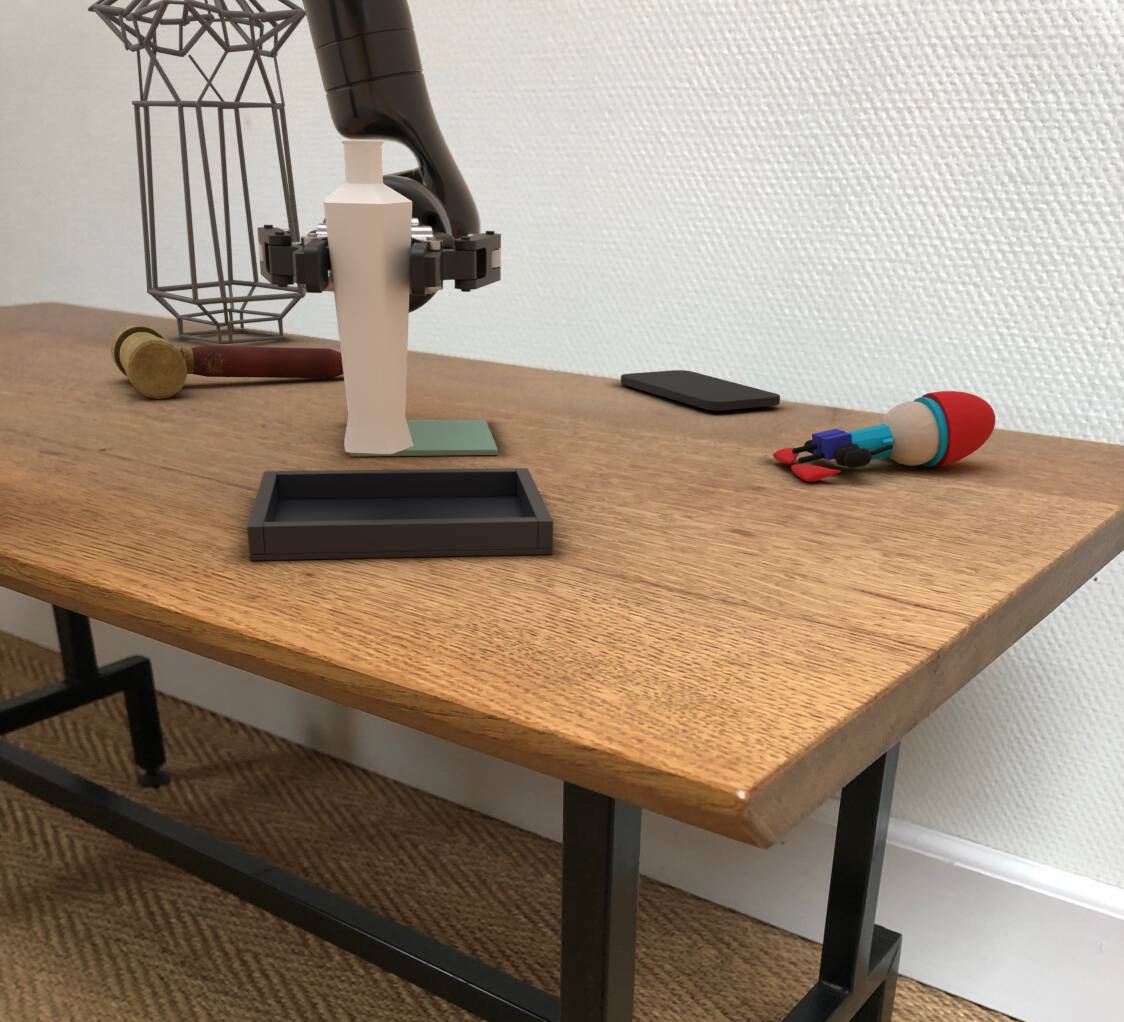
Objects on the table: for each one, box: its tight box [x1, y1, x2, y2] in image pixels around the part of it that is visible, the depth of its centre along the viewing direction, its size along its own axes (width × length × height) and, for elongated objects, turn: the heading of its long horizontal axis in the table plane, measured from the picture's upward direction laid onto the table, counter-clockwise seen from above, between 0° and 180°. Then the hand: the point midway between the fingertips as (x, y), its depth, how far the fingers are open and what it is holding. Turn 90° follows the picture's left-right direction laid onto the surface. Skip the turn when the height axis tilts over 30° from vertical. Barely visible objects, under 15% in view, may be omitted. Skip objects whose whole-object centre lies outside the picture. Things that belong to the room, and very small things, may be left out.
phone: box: [620, 369, 781, 412], centre depth 108 cm, size 7×1×15 cm
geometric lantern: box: [87, 0, 307, 345], centre depth 123 cm, size 16×16×35 cm
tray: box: [246, 467, 554, 562], centre depth 70 cm, size 16×12×2 cm
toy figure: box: [772, 390, 996, 483], centre depth 85 cm, size 8×5×15 cm
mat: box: [349, 419, 499, 458], centre depth 90 cm, size 10×10×1 cm
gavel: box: [110, 323, 344, 400], centre depth 108 cm, size 21×5×10 cm
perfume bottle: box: [322, 138, 414, 454], centre depth 65 cm, size 5×4×15 cm
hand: (365, 271), depth 62 cm, fingers closed on perfume bottle, 4 cm apart
